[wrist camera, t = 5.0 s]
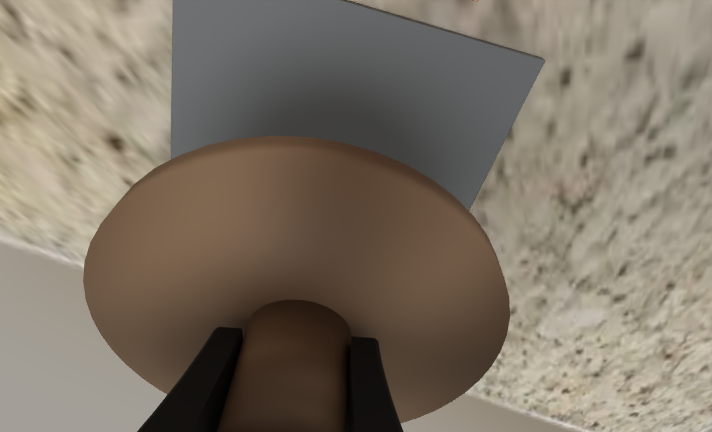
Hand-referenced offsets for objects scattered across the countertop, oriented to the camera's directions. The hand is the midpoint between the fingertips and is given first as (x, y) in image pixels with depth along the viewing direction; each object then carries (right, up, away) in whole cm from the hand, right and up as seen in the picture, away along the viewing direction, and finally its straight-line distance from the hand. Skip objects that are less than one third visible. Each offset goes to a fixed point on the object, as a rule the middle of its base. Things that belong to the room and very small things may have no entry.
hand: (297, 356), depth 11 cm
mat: (0, +6, +8) cm, 10 cm away
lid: (0, +1, +1) cm, 1 cm away
